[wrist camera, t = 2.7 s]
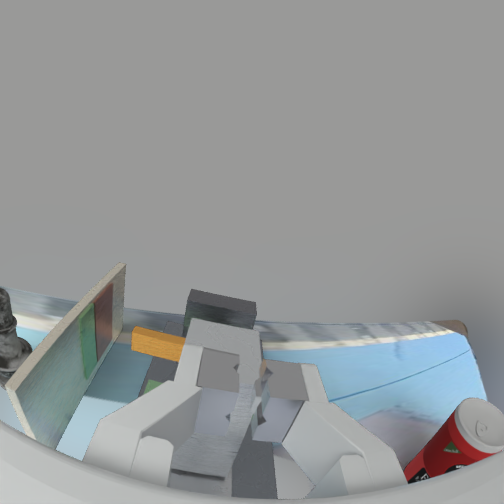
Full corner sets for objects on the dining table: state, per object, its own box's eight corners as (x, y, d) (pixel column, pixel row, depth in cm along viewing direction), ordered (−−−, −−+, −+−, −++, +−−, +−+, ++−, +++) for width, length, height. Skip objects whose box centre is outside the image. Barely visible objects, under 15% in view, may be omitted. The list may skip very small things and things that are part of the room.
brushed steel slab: (226, 477, 19) (264, 386, 16) (127, 456, 18) (118, 355, 15) (228, 427, 25) (258, 331, 22) (142, 409, 24) (146, 306, 21)
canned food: (389, 498, 19) (456, 434, 16) (407, 452, 26) (459, 387, 22) (442, 517, 15) (514, 456, 12) (452, 471, 22) (508, 409, 18)
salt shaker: (32, 356, 27) (19, 265, 23) (43, 389, 23) (24, 293, 20) (-8, 362, 22) (-29, 270, 19) (-2, 398, 19) (-33, 300, 15)
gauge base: (277, 541, 15) (328, 501, 12) (28, 481, 13) (-17, 413, 10) (259, 346, 43) (277, 287, 40) (123, 316, 41) (127, 254, 38)
